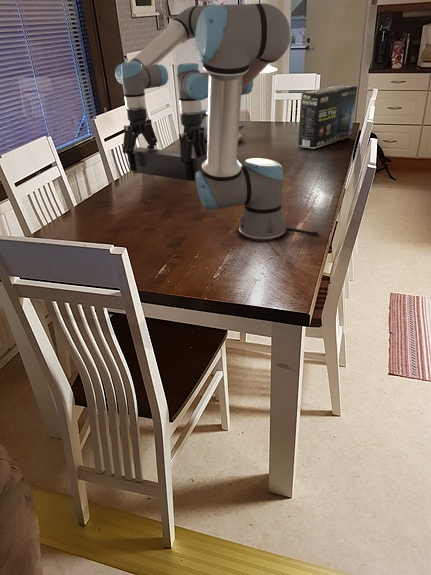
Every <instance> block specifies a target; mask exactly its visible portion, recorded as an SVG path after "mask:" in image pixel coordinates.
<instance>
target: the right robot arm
mask: <svg viewBox="0 0 431 575" xmlns="http://www.w3.org/2000/svg"><path fill="white" fill-rule="evenodd" d="M216 5H217V6H208V7H206V8H204V9H203V10H202V12H201V14H200V16H199V18H198V22H197V27H196V35H195V38H194V45H195V56H196V58H197V61H198V62H200V63H202V69H203V70H204V72H201V70H200V65H199V63H195V62H189V63H180V64H177V66H176V71H177V72H176V73H177V74H176V77H177V86H178V89H177V90H178V99H179V112H180V115H179V116H180V124H181V126H183V131H182V133H179V134H178V138H179V146H180V147H179V148H180V150H179V151H180V152H181V162H183V163H185V169H186V179H187V180H186V181H189V180H191V181H190V182H194V181H193V180H194V176H193V163H192V162H191V158H192V148H193V145H194V149H195V153H196V154H202V155H205V154H206V151H205V138H204V131H205V128H204V127H200V124H202V113H201V111H202V109H203V107H202V101H204V100H206V99H207V109H208V142H207V159H206V160H205V161H204V162H203V163H202V171H198V172H196V175H195V179H196V181H195V185H196V191H197V193H198V197H199V200H200V203H201V205H202V207H203V208H204V209H206V210H208V211H210V210H220V209H226V208H227V209H228V208H234V207H241V206H244V211H243V213H242V216H241V217H240V220H239V226H238V232H239V235H240V236H241V237H242V238H244V239H247V240H250V241H254V242H271V241H277V240H279V239H281V238H283V237H285V235H286V234H287V231H288V232H293V233H298V234H299V233H300V234H305V235H311V236H319V231H311V230H304V229H299V228H292V227H287V223H286V221H285V216H284V214H283V210H282V200H283V183H284V174H283V173H284V172H283V171H284V170H283V166H282V164H280V163H279V162H278V161H275V160H272V159H268V158H259V157H253V158H248V159H245V160H244V163H243V165H242V164H241V162H240V161H239V160H238V149H239V142H238V136H239V130H240V128H239V126H240V120H241V108H242V106H241V104H242V96H244V95H248V94H250V93H252V91H253V88H254V80H255V79H256V78H257V77H258V76H259V75H260V74H261V73H262V71H263V70H265V69H266V67H267V66H268V65H269V64H272V63H273V64H274V63H275V62H277V61H278V60H280V59H281V58H282V57H283V56H284V54H285V53H286V52H287V51H288V48H289V46H290V43H291V40H292V39H291V38H292V31H291V30H292V29H291V26H290V22H289V21H288V18H287V16H286V14H284V12H282V11H281V10H280V9H279V8H278V7H276V6H275V5H272V4H269V3H265V2H261V3H260V2H259V3H237V4H233V3H232V4H223V3H221V4H216ZM200 133H201V134H200ZM188 140H189V141H188ZM202 150H203V151H202ZM188 159H189V160H188Z"/></svg>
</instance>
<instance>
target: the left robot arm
mask: <svg viewBox="0 0 431 575" xmlns="http://www.w3.org/2000/svg"><path fill="white" fill-rule="evenodd" d="M217 5H218V4H205V5H192V6H190V7H187V8H185V9H184V10H183V11H181V12H179V13H178V14H177V15H176V16H175V17H173V19H171V20H169V22H168V24H167V28H165V29H164V30H163V31H162V32H161V33H160V34H158V36H156V37H155V38H154V39H153V40H152V41H151V42H150V43H148V44H147V45H146V46H145V47H144V48H143V49H142V50H141V51H140V52H139V53H137V54H136V55H135V56H134V57H133V58H132V59H130V60H129V61H125V62H122V63H120V64H118V65H116V68H115V69H114V70H115V72H114V77H115V79H116V81H117V82H118V83H119V84H121V85H122V88H123V95H124V102H125V108H126V110H125V111H126V112H125V113H126V119H127V120H128V122H129V124H128V125H127V124H126V125H123V130H124V133H123V144H122V154H126V156H127V163H128V165H129V171H132V170H133V171H136V170H137V169H136V161H135V153H133V150H134V149H135V148H136V147H135V146H136V142H137V139H138V137H139V135H142V136H143V138H144V140H145V141H146V143H147V144H148V145H146V148H151V149H155V147H156V146H157V143H158V138H157V136H156V133H155V130H154V127H153V122H152V119H150V118H148V112H147V111H148V110H147V108H146V107H147V101H146V94H145V92H146V90H147V89H152V88H160V87H162V86H166V85H167V83H168V82H169V71H168V69H167V67H166V66H165V65H163V64H159V63H160V62H161V61H163V60H164V59H165V58H166V57H167V56H168V55H170V53H171V52H172V51H174V49H176V48H177V47H178V46H179V45H181V44H185V43H186V42H187V41H188V40H191V39H195V35H196V27H197V22H198V18H199V16H200V14H201V12H202V10H203V9H204V8H206V7H208V6H217ZM201 113H202V124H200V127H204V128H205V131H204V138H205V151H206V154H205V155H206V159H207V142H208V108H202V111H201ZM200 134H201V133H200ZM188 141H189V140H188ZM202 151H203V150H202ZM192 153H194V154H196V153H195V149H194V145H193V148H192Z"/></svg>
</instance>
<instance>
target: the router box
mask: <svg viewBox="0 0 431 575" xmlns="http://www.w3.org/2000/svg"><path fill="white" fill-rule="evenodd" d="M357 93H358V86H356V85H350V84H339V85H338V84H337V85H334V86H328V87H324V88H318V89H314V90H309V91H304V92H301V93H300V109H299V110H300V111H299V124H298V137H297V146H298V145H302V146H307V147H317V146H320V145H323V144H325V143H328V142H331V141H333V140H336V139H338V138H341V137H344V136H347V135H351V136H352V133H353V132H352V131H353V125H354V115H355V109H356V99H357ZM311 151H313V150H312V149H311Z"/></svg>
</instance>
